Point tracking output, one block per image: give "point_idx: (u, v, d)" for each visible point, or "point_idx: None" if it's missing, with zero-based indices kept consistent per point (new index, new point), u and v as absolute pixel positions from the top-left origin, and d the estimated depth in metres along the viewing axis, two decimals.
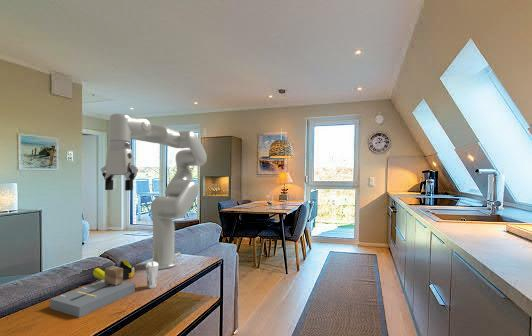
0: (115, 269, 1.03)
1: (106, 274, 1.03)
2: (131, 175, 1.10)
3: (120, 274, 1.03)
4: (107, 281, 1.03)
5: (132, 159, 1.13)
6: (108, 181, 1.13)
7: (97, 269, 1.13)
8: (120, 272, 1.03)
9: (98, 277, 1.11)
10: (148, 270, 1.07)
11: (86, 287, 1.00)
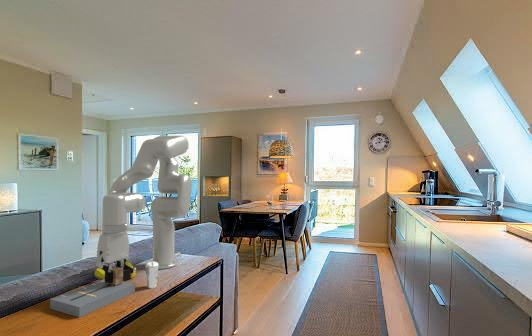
0: (115, 269, 1.03)
1: None
2: (124, 262, 1.07)
3: (120, 274, 1.03)
4: None
5: None
6: None
7: (99, 269, 1.12)
8: (120, 272, 1.03)
9: (100, 277, 1.11)
10: (148, 270, 1.07)
11: (86, 287, 1.00)
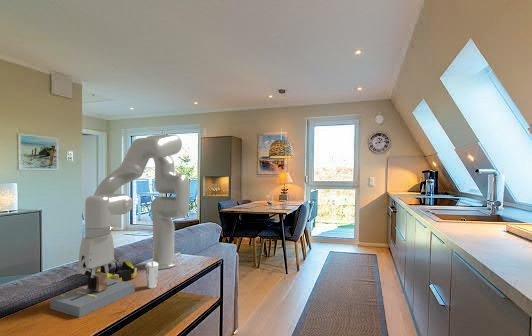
0: (99, 275, 0.97)
1: None
2: (109, 267, 1.01)
3: (104, 280, 0.97)
4: None
5: None
6: None
7: (99, 270, 1.12)
8: (104, 278, 0.97)
9: None
10: (148, 270, 1.07)
11: (86, 287, 1.00)
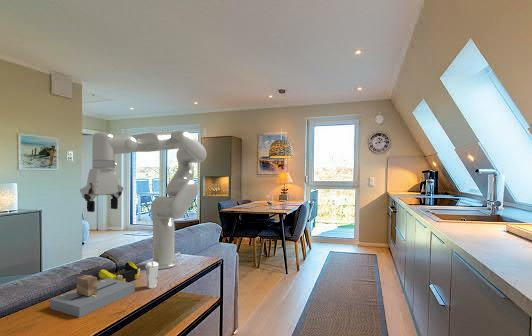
0: (88, 278, 0.94)
1: (78, 284, 0.94)
2: (119, 194, 1.17)
3: (93, 284, 0.94)
4: (79, 291, 0.94)
5: None
6: None
7: (103, 270, 1.11)
8: (94, 281, 0.94)
9: (104, 278, 1.10)
10: (148, 270, 1.07)
11: None
